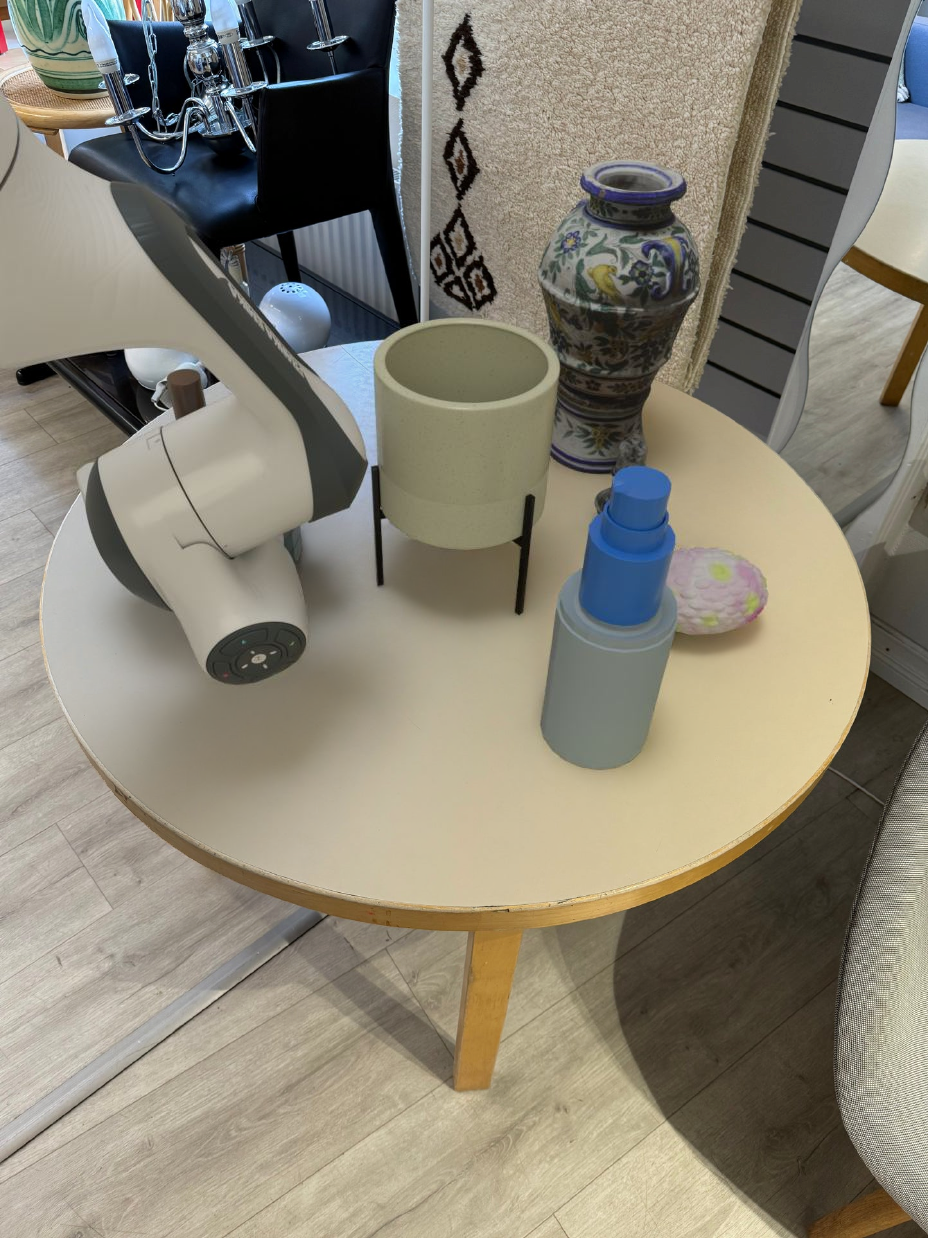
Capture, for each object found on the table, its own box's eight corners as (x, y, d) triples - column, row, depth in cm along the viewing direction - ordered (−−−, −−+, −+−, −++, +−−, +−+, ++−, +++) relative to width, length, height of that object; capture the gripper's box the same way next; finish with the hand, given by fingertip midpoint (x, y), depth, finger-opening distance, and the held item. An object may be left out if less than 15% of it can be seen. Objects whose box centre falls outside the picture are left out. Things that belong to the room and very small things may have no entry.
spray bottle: (639, 688, 79) (699, 445, 62) (653, 771, 73) (724, 526, 55) (537, 685, 79) (569, 440, 62) (543, 768, 73) (579, 521, 55)
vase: (576, 504, 98) (617, 221, 77) (495, 426, 109) (511, 160, 88) (695, 464, 104) (762, 192, 83) (607, 394, 115) (647, 138, 94)
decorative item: (608, 561, 84) (699, 508, 78) (671, 582, 92) (758, 535, 86) (637, 650, 80) (734, 600, 74) (700, 664, 88) (792, 620, 82)
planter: (363, 536, 93) (350, 325, 77) (510, 516, 96) (528, 309, 80) (392, 638, 83) (384, 419, 67) (556, 612, 86) (587, 396, 70)
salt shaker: (650, 521, 96) (672, 423, 88) (640, 554, 92) (661, 455, 84) (596, 509, 98) (613, 411, 89) (584, 541, 94) (599, 442, 85)
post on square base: (188, 534, 84) (155, 396, 74) (180, 502, 88) (148, 366, 78) (244, 523, 86) (219, 386, 75) (234, 492, 89) (209, 357, 79)
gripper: (344, 465, 73) (304, 381, 82) (76, 515, 67) (66, 419, 76) (349, 527, 77) (311, 441, 86) (98, 578, 72) (86, 481, 81)
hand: (194, 431), depth 81 cm, fingers closed on post on square base, 3 cm apart
